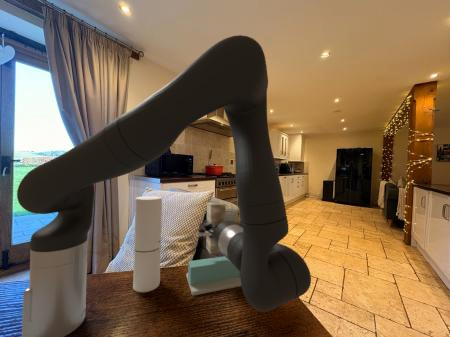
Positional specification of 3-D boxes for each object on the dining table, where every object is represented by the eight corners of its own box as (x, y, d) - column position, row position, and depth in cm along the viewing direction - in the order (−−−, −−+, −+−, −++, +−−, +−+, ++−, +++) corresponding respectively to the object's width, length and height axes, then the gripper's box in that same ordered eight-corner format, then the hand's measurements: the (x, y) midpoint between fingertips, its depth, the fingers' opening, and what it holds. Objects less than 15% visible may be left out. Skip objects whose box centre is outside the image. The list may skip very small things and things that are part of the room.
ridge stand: (192, 295, 52) (192, 273, 52) (186, 276, 62) (186, 257, 62) (243, 285, 57) (244, 264, 57) (230, 268, 67) (231, 251, 67)
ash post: (210, 253, 56) (211, 205, 57) (206, 248, 61) (207, 202, 61) (224, 251, 58) (225, 204, 58) (220, 246, 62) (220, 202, 62)
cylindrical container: (163, 278, 60) (165, 196, 60) (154, 292, 53) (156, 199, 53) (140, 277, 60) (142, 195, 60) (128, 291, 53) (130, 199, 53)
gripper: (260, 222, 49) (234, 209, 65) (204, 227, 44) (190, 212, 60) (260, 253, 48) (233, 232, 64) (203, 261, 44) (190, 236, 60)
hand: (213, 222), depth 62 cm, fingers closed on ash post, 4 cm apart
